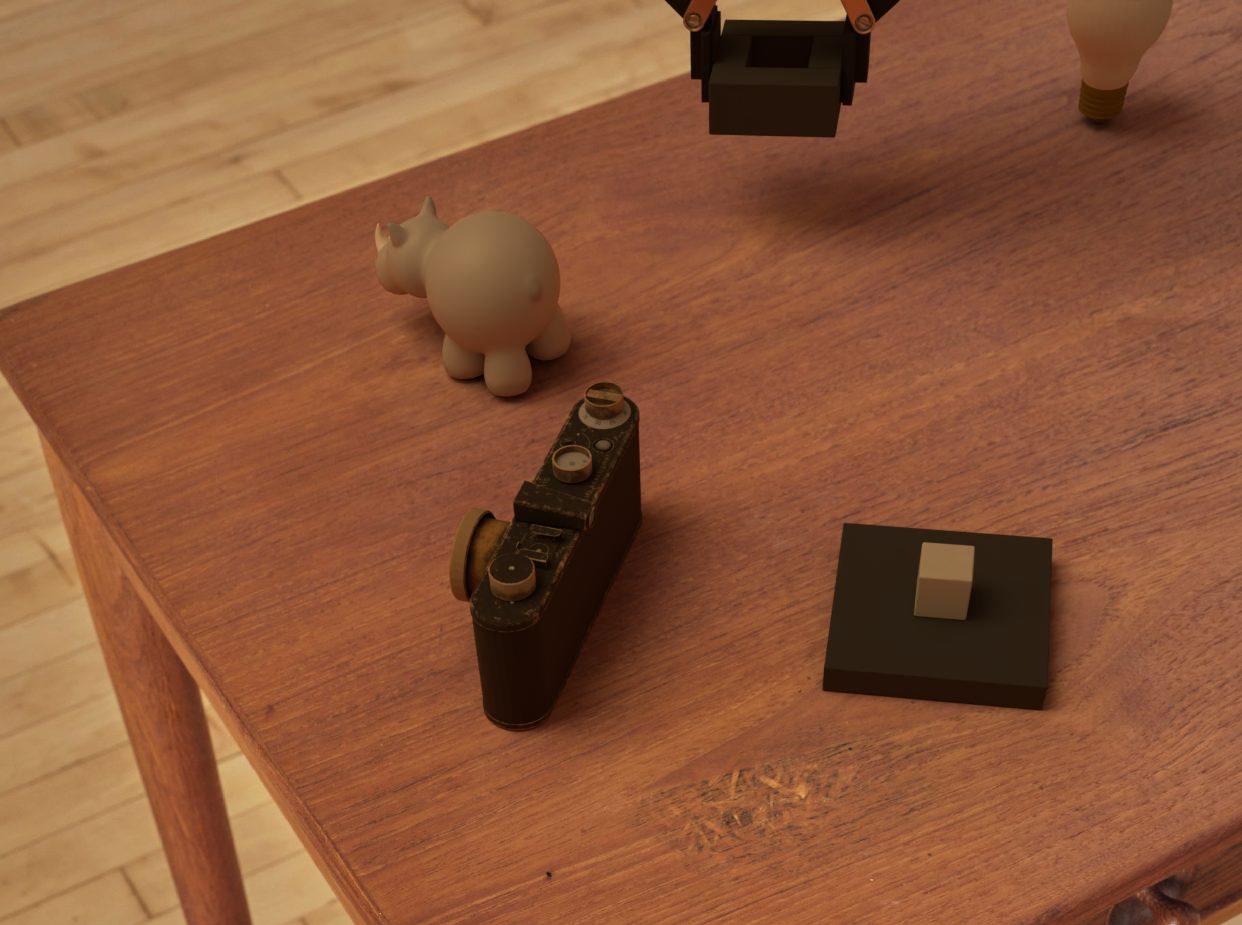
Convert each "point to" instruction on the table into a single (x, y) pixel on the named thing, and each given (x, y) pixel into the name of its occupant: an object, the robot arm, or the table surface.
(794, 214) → the table surface
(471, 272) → the chubby cartoon animal
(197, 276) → the table surface
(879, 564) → the base pad
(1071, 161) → the table surface
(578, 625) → the camera
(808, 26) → the black square ring block
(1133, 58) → the light bulb
